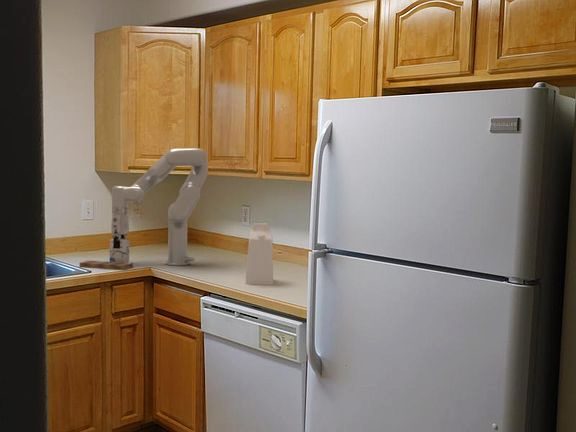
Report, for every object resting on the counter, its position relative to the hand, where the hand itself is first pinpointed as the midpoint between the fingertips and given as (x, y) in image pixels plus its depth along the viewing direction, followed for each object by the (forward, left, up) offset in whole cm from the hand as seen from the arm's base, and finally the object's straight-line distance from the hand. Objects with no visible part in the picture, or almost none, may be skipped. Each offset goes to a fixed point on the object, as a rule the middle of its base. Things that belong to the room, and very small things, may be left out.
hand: (119, 247), depth 299 cm
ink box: (0, 0, -8) cm, 8 cm away
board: (+3, +7, -9) cm, 12 cm away
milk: (-76, +16, -9) cm, 78 cm away
